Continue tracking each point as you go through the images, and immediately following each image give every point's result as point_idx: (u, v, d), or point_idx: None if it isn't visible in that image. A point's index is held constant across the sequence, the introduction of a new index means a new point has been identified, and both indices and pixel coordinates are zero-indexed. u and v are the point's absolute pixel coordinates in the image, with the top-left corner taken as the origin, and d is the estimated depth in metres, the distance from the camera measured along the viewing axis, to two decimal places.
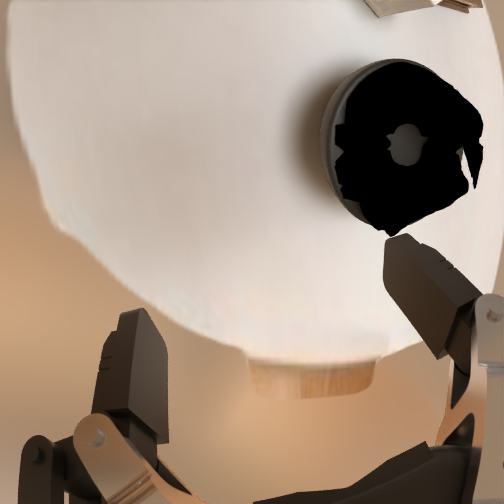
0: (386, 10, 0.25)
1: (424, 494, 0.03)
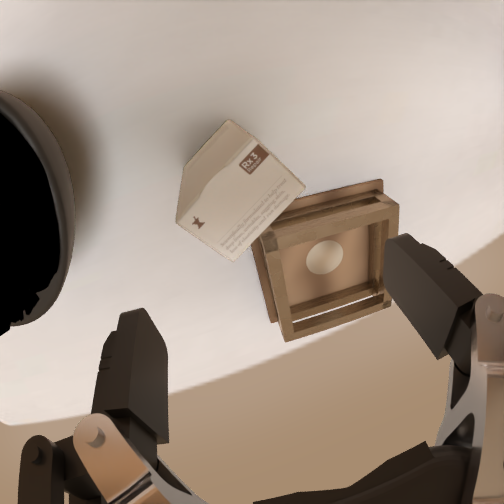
0: (187, 169, 0.22)
1: (424, 494, 0.03)
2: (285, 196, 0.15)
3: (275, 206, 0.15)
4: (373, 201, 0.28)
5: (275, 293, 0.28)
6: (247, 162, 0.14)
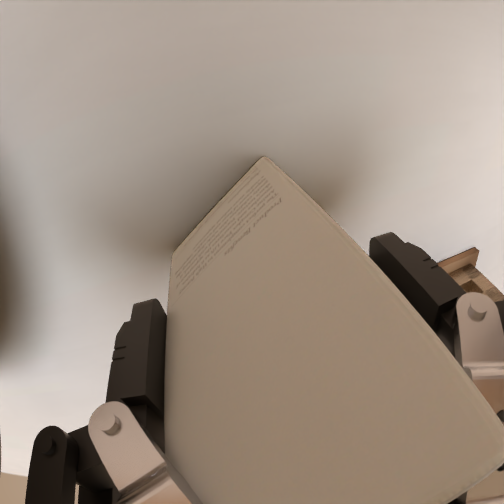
0: (178, 280, 0.10)
1: None
2: None
3: None
4: (468, 286, 0.16)
5: None
6: None
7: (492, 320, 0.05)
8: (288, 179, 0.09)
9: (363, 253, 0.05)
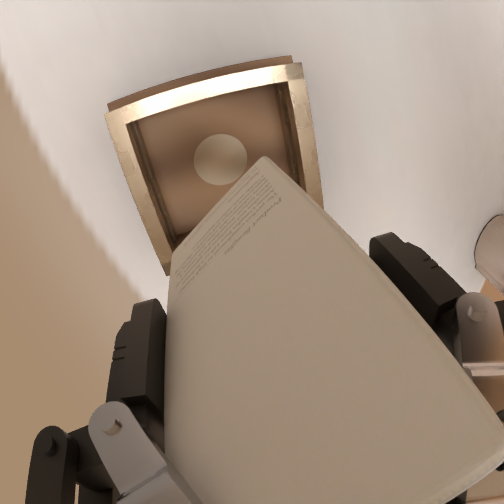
0: (178, 279, 0.10)
1: None
2: None
3: None
4: None
5: (214, 79, 0.17)
6: None
7: (492, 320, 0.05)
8: (288, 179, 0.09)
9: (362, 252, 0.05)
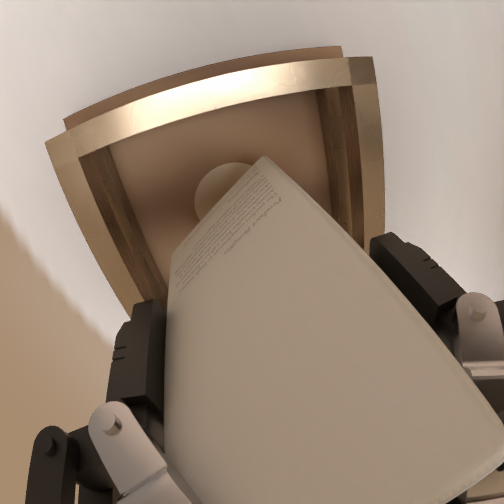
0: (178, 279, 0.10)
1: None
2: None
3: None
4: None
5: (229, 76, 0.09)
6: None
7: (492, 320, 0.05)
8: (288, 178, 0.09)
9: (362, 252, 0.05)
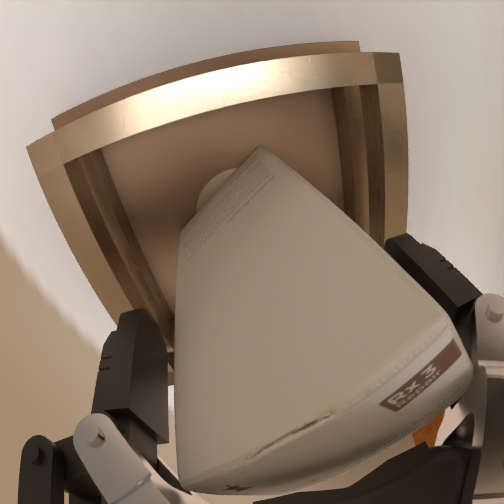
0: (186, 250, 0.12)
1: (424, 494, 0.03)
2: (441, 410, 0.05)
3: (416, 429, 0.05)
4: None
5: (239, 68, 0.08)
6: (405, 391, 0.04)
7: None
8: (280, 161, 0.10)
9: (334, 205, 0.06)
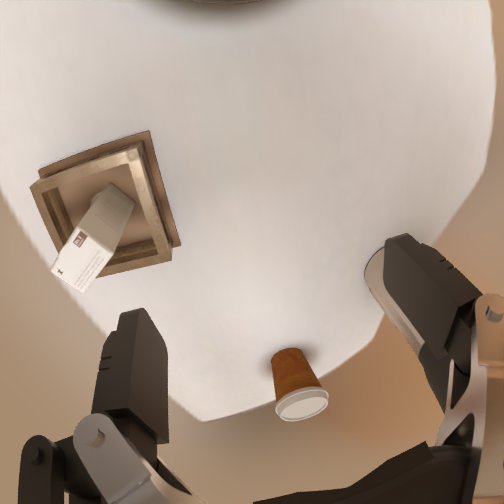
0: None
1: (424, 494, 0.03)
2: (101, 259, 0.23)
3: (98, 264, 0.23)
4: None
5: (84, 166, 0.26)
6: (76, 241, 0.22)
7: None
8: (102, 192, 0.28)
9: (91, 208, 0.25)
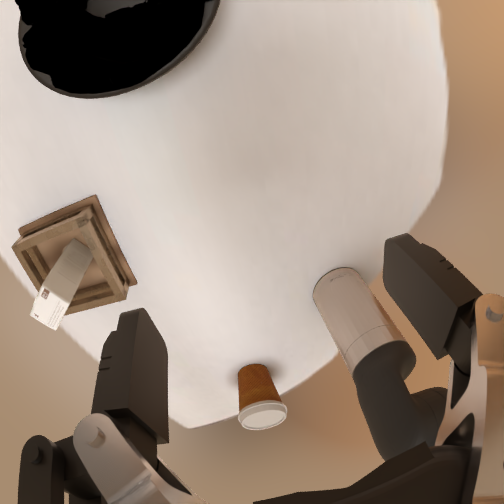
0: None
1: (424, 494, 0.03)
2: (62, 307, 0.29)
3: (60, 311, 0.29)
4: (121, 281, 0.41)
5: (47, 231, 0.32)
6: (43, 295, 0.27)
7: None
8: (65, 249, 0.34)
9: (54, 266, 0.30)
